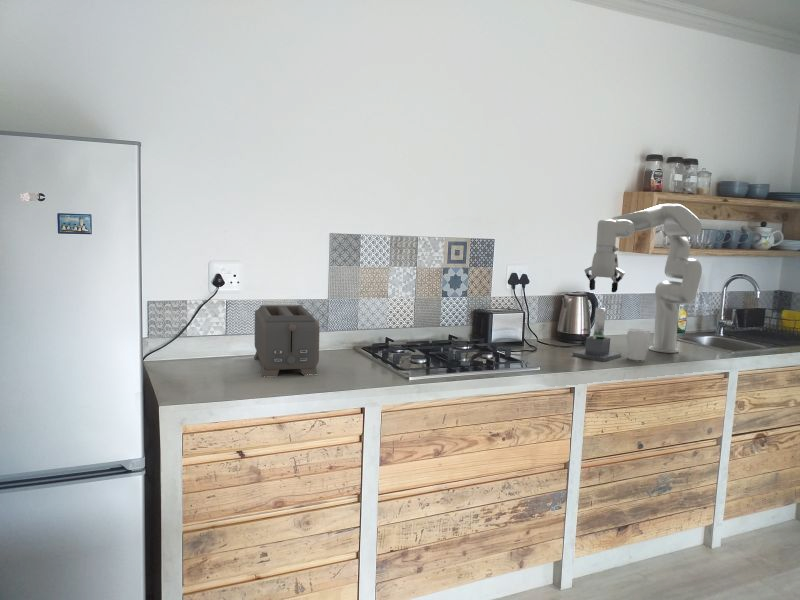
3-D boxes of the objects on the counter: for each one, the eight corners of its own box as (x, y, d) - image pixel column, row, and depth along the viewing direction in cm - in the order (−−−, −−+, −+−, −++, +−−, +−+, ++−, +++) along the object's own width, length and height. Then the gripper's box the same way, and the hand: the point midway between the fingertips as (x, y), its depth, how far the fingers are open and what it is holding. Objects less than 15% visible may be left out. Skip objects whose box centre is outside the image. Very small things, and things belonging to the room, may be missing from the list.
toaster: (262, 380, 214) (263, 318, 211) (253, 357, 247) (254, 304, 245) (320, 378, 220) (321, 318, 217) (304, 356, 253) (305, 304, 250)
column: (595, 337, 277) (598, 307, 276) (605, 339, 274) (608, 308, 273) (591, 338, 274) (593, 308, 273) (600, 340, 271) (603, 309, 270)
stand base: (590, 351, 286) (592, 331, 285) (621, 356, 276) (622, 335, 275) (572, 355, 274) (574, 334, 273) (603, 361, 265) (605, 340, 264)
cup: (649, 361, 268) (652, 333, 267) (626, 360, 270) (629, 331, 268) (645, 357, 277) (648, 329, 275) (623, 355, 279) (626, 328, 277)
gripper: (629, 250, 267) (626, 292, 269) (590, 248, 278) (588, 288, 281) (621, 251, 261) (618, 293, 263) (582, 249, 273) (579, 289, 275)
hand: (603, 290), depth 272 cm, fingers open, 9 cm apart
